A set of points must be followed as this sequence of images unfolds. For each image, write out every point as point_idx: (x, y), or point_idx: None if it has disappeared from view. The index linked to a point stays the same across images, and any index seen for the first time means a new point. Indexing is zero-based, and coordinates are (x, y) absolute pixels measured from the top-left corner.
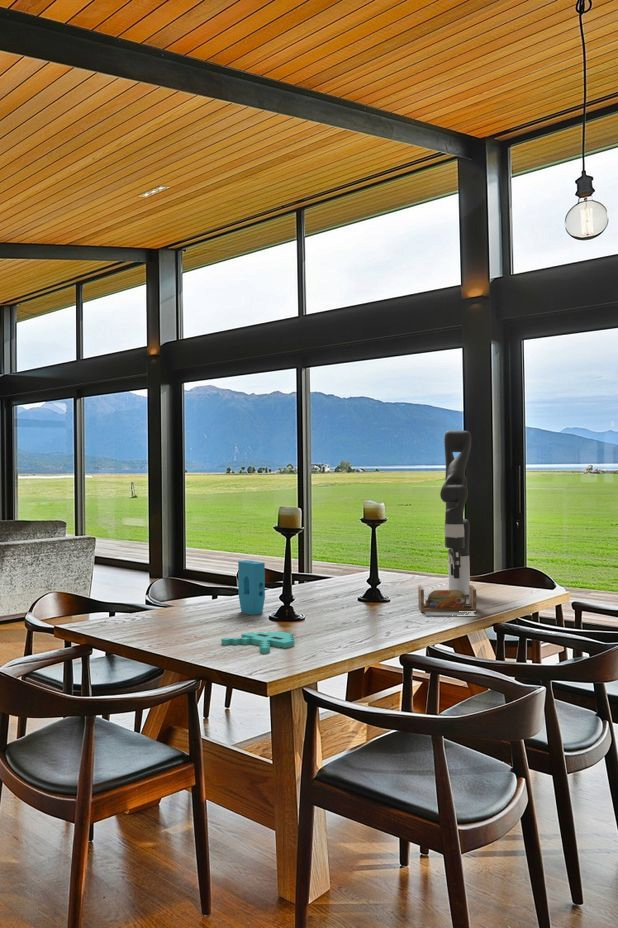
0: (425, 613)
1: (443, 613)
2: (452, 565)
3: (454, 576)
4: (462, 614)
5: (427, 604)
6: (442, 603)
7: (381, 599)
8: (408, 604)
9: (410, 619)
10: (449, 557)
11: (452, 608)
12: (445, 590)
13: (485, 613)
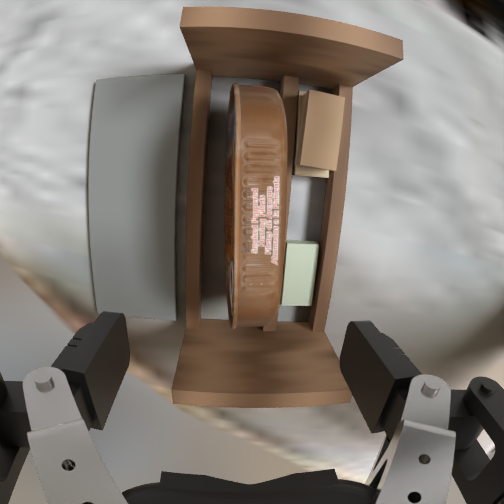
0: (134, 77)
1: (126, 166)
2: (395, 403)
3: (99, 324)
4: (105, 256)
5: (303, 104)
6: (233, 178)
7: (491, 20)
8: (418, 61)
9: (61, 26)
10: (439, 476)
11: (188, 226)
12: (242, 210)
13: (174, 359)
